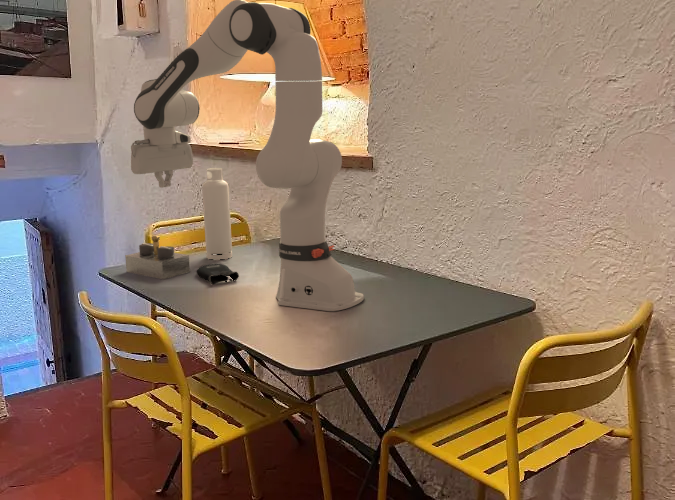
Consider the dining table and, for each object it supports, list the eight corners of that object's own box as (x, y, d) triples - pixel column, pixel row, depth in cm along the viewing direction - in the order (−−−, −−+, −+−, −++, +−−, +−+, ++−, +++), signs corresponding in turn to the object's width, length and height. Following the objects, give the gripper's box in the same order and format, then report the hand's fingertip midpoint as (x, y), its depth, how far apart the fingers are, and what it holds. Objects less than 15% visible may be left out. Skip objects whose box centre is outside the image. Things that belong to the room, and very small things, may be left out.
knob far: (160, 267, 204) (158, 243, 203) (148, 270, 201) (146, 246, 199) (150, 265, 207) (148, 241, 205) (137, 268, 203) (135, 244, 202)
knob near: (178, 271, 200) (177, 246, 198) (166, 274, 196) (164, 249, 195) (168, 269, 202) (166, 244, 201) (155, 272, 199) (153, 247, 197)
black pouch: (242, 286, 191) (223, 267, 204) (240, 268, 189) (221, 250, 201) (210, 295, 188) (193, 276, 200) (207, 277, 185) (190, 258, 198)
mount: (190, 271, 201) (188, 255, 200) (163, 279, 193) (161, 262, 192) (153, 265, 210) (152, 249, 209) (126, 272, 202) (125, 255, 201)
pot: (162, 254, 201) (161, 236, 200) (156, 255, 199) (155, 237, 198) (157, 253, 202) (155, 235, 201) (151, 254, 200) (149, 236, 199)
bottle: (201, 257, 219) (195, 169, 213) (223, 253, 224) (218, 166, 218) (215, 261, 213) (210, 170, 207) (237, 257, 219) (232, 168, 212)
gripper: (138, 140, 186) (143, 191, 188) (194, 136, 202) (198, 183, 205) (123, 140, 189) (128, 191, 192) (179, 136, 205) (183, 182, 208)
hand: (165, 187), depth 198 cm, fingers closed
